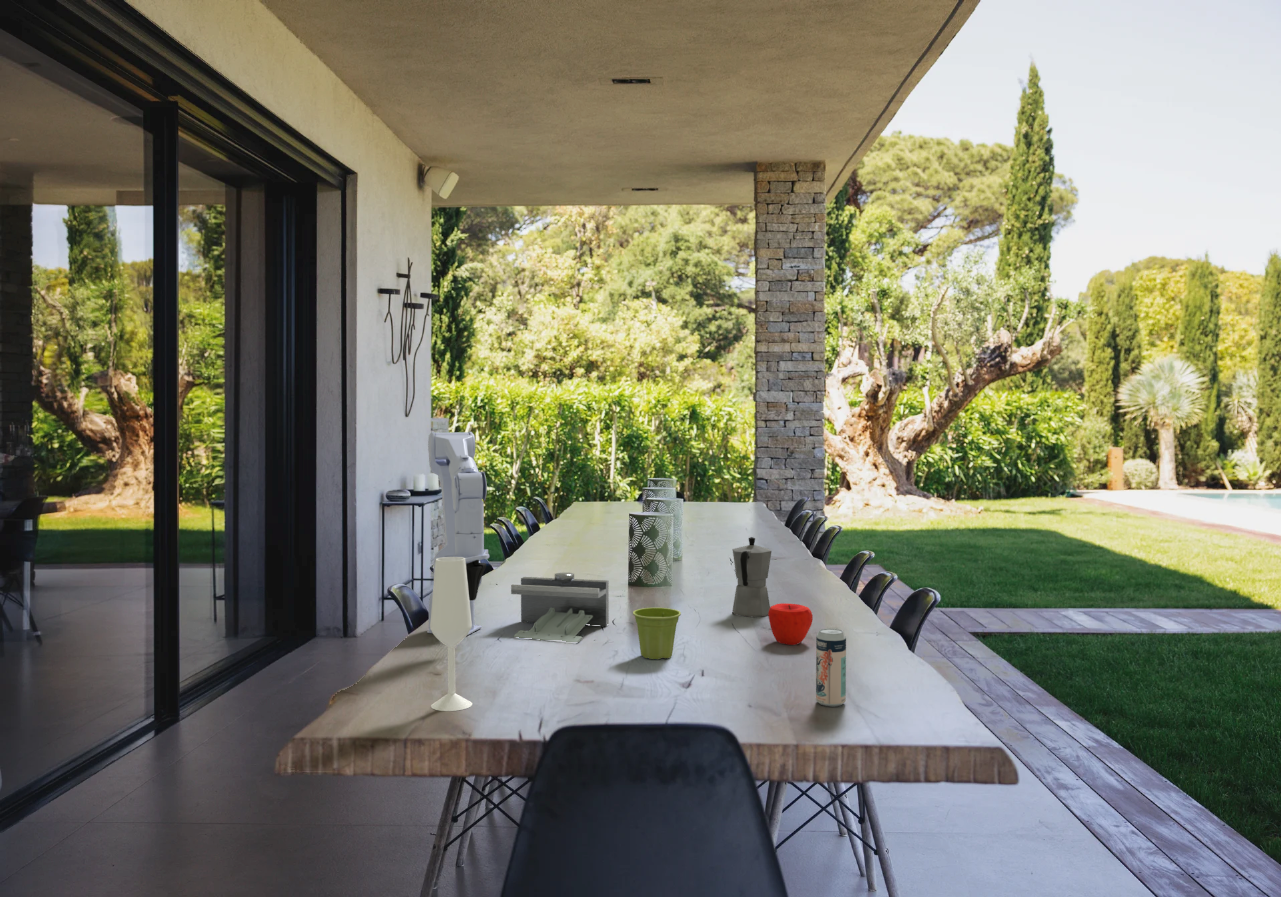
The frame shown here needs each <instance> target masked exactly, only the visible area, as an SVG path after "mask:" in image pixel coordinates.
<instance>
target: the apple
mask: <svg viewBox="0 0 1281 897" xmlns="http://www.w3.org/2000/svg"><path fill="white" fill-rule="evenodd" d="M767 616H768V620H769V624H770V629H771V632H772V636H773V637H774V638H775V640H776V642H777V643H780V644H781V645H789V646H790V645H791V646H795V645H798V644H801V643H802V642H803V641H804V640H805V639H806V637H807V635H808V632H809V631H810V629H811V627H812V624H813V618H814V617H813V612H812V610H811V609H810V608H809V607H808V606H806V605H803V604H798V603H797V604H796V603H784V602H783V603H782V602H781V603H776V604H773V605H772V606H771V605H770V609H769V613H768V615H767Z"/></svg>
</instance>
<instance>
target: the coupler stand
mask: <svg viewBox="0 0 1281 897" xmlns="http://www.w3.org/2000/svg"><path fill="white" fill-rule="evenodd" d="M609 583H610V582H609V580H603V579H602V580H601V579H580V578H579V579H578V578H575V573H574V572H557V573H554V577H532V576H523V577H520V584H510V589H511V590H510V594H511V595H520V622H521V623H525V622H529V623H528V624H533V623H535V622H536V621H537V620H538V619H539V618H541V617H542V616H543V615H545V614H546V613H547V612H548V611H549V609H550V608H554V609H555V612H560V613H567V612H568V611H569V610H570V609H571V608H572V614H578V613H579V611H580V610H583V611H584V614H585V615H592V616H593V617H592V618H591V619H590V620H589V622H588V623H587V624H590V625H601V626H607V624H609V623H610V622H609V618H610V616H609V614H610V613H609V611H610V610H609V609H610V608H609V600H610V598H609V597H610V596H609V595H610V594H609V592H610V590H609ZM589 618H590V617H589ZM530 622H532V623H530ZM607 627H608V626H607Z"/></svg>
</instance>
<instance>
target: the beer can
mask: <svg viewBox="0 0 1281 897" xmlns="http://www.w3.org/2000/svg"><path fill="white" fill-rule="evenodd" d="M815 644H816V646H815V647H816V648H815V649H816V650H815V654H816V655H815V656H816V657H815V701H816V702H817V703H819V704H820V705H821V706H824V707H830V708H831V707H833V708H834V707H835V708H836V707H840V706H842V705H843V704H845V703H846V700H847V699H846V695H847V692H846V691H847V689H846V688H847V683H846V682H847V636H846V635H845V632H844V631H843V629H838V628H821V629H819V630H818V633H817V634H816V640H815Z"/></svg>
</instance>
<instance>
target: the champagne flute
mask: <svg viewBox="0 0 1281 897" xmlns="http://www.w3.org/2000/svg"><path fill="white" fill-rule="evenodd" d="M432 588H433V590H432V592H433V598H432V610H431V622H430V629H431V631H432V633H431V634H433V636H434V637H435V638H436V639H437V640H438V641H439V642H441V644H443V645H444V646H446V647H447V694H445V695H443V696H442V697H440V698H439V699H438V700H436V701H435V702H434V703H432V704H431V705H430V707H431V709H432V710H436V711H441V712H455V711H462V710H465V709H466V710H467V709H469V708H471V707H472V706H473V702H471V701H470V700H468V699H466V698H464V696H461V695H459V694H457V693H456V646H457V645H460V644H461V642H462V641H463V640H464V639H465V638H466V637H467V636H468V635H467V634H468V633H469V632H470V630H471V627H472V621H471V611H470V601H469V591H468V581H467V572H466V562H465V558H463V557H442V558H437V559H436V562H435V574H434V575H433V587H432Z"/></svg>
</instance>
